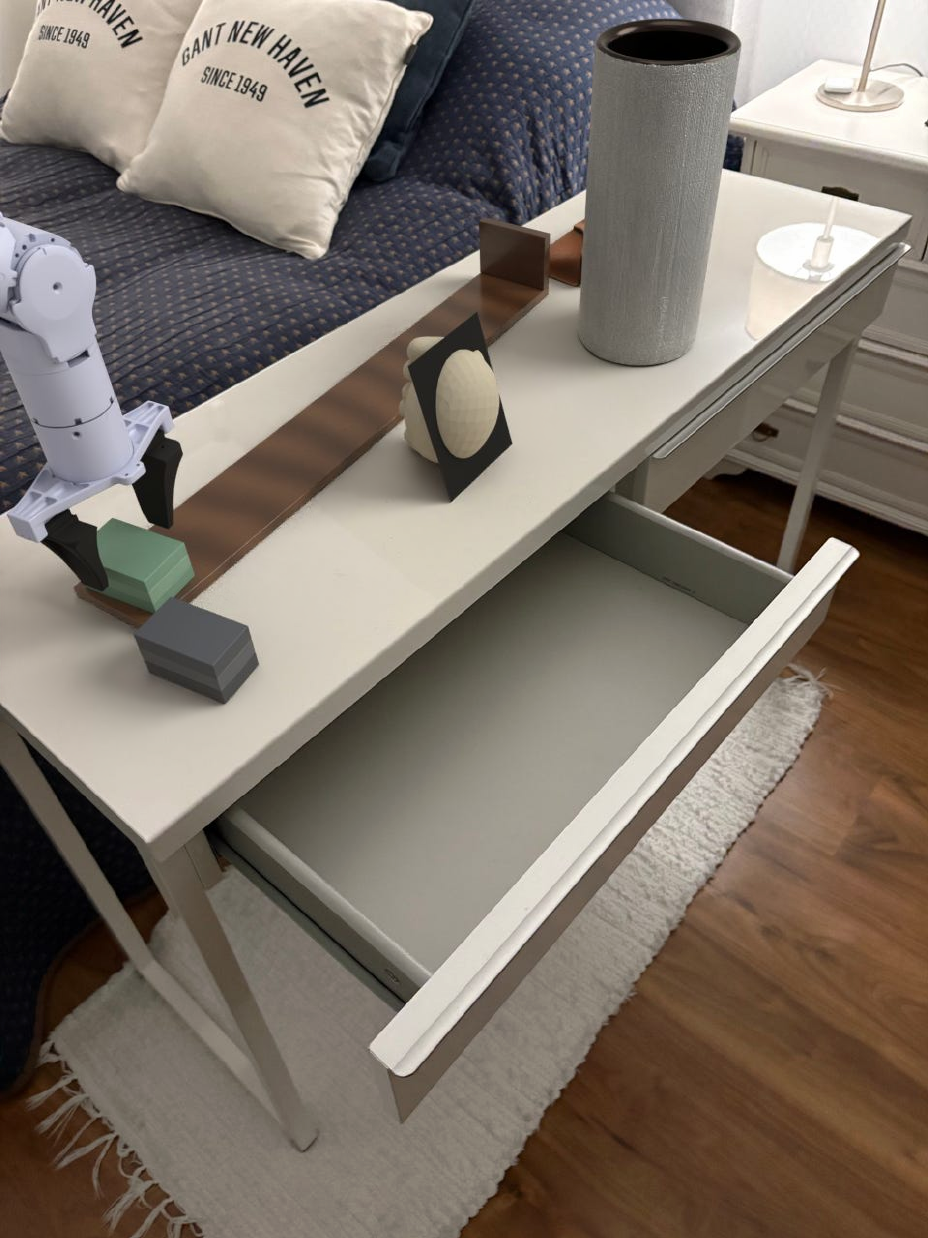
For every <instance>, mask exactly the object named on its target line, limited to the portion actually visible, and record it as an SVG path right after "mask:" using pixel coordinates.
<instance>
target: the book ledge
mask: <svg viewBox="0 0 928 1238" xmlns="http://www.w3.org/2000/svg"><path fill="white" fill-rule="evenodd" d="M478 234H479V235H478V237H479V238H478V239H479V240H478V241H479V273H478V274H476V276H474V277H473V278H472V279H470V280H469V281H467V282H466V283H465V284H464V285H462V286H461V287H460V288H458V289H457V290H456V291H454V293H452V294H451V295H450V296H449V297H447V298H446V299H445V300H443V301H442V302H440V303H439V304H438V305H437V306H435V307H434V308H432V310H431V311H429V312H428V313H426V314H425V315H424V316H422V317H421V318H419V319H418V320H417V321H415V322H414V323H413V324H412V325H411V326H409V327H408V328H407V329H406V330H404V331H403V332H402V333H400V334H399V335H398V336H396V337H395V338H394V339H393V340H391V341H389V343H388V344H386V345H384V347H382V348H381V349H379V350H378V351H377V352H375V353H374V354H373V355H372V356H371V357H369V358H368V359H367V360H365V361H364V362H363V363H361V364H360V365H359V366H358V367H356V368H355V369H354V370H352V371H351V372H350V373H349V374H348V375H346V376H345V377H343V378H342V379H341V380H340V381H338V382H337V383H336V384H334V385H333V386H332V387H330V388H329V389H328V390H327V391H325V392H324V393H323V394H321V395H320V396H318V397H317V398H316V399H315V400H313V401H312V402H311V403H310V404H308V405H307V406H306V407H304V408H303V409H302V410H301V411H300V412H298V413H297V414H295V415H294V416H293V417H292V418H290V419H289V420H288V421H286V422H285V423H284V424H283V425H281V426H280V427H279V428H277V429H276V430H275V431H274V432H272V433H271V434H269V435H268V436H267V437H265V439H263V440H262V441H261V442H259V443H258V444H257V445H255V446H254V447H252V448H251V449H250V450H249V451H248V452H246V453H245V454H244V455H242V456H241V457H240V458H238V459H237V460H236V461H235V462H233V463H232V464H231V465H230V466H228V467H226V469H224V470H223V471H222V472H220V473H219V474H218V475H216V476H214V478H212V479H211V480H210V481H209V482H208V483H206V484H205V485H204V486H202V487H201V488H200V489H198V490H197V491H196V492H195V493H193V494H192V495H191V496H189V497H188V498H187V499H185V500H184V501H182V503H180V504H179V505H178V506H176V507H175V508H173V526H172V527H171V528H170V529H169V530H168V529H165V528H163V527H160V526H157V525H154V524H152V525H151V527H149V528H147V530H149V531H152V532H155V533H158V534H161V535H163V536H166V537H169V538H172V539H175V540H178V541H180V542H183V543H184V544H185V547H186V550H187V554H188V556H189V559H190V562H191V565H192V568H193V571H194V574H195V576H194V577H193V578H192V579H191V580H190V581H189V582H188V583H187V584H186V585H185V586H184V587H183V588H182V589H181V590H180V591H179V593H178V594H177V595H176V596H175V597H174V598H176V599H178V600H181V601H184V602H186V603H189V604H191V603H192V601H194V600H195V599H197V597H198V596H199V595H201V594H202V593H203V592H204V591H205V590H206V589H208V588H209V587H210V586H211V585H212V584H213V583H214V582H216V581H217V580H218V579H219V578H220V577H222V575H224V574H225V573H226V572H228V571H229V570H230V569H231V568H232V567H233V566H235V565H236V564H237V563H238V562H240V560H242V558H244V557H245V556H246V555H248V554H249V552H251V551H252V550H253V549H254V548H255V547H257V546H258V545H259V544H260V543H261V542H263V540H265V539H266V538H267V537H268V536H270V534H271V533H273V532H275V530H277V528H279V527H280V526H281V525H283V523H285V521H287V520H288V519H289V518H291V516H293V515H295V513H296V512H297V511H298V510H299V509H300V508H302V507H304V505H306V503H308V502H309V501H310V500H311V499H313V498H314V497H315V496H317V494H318V493H319V492H321V491H322V490H323V489H324V488H326V487H327V485H329V484H330V483H331V482H332V481H333V480H335V479H336V478H337V477H338V476H339V475H340V474H341V473H343V472H344V470H347V468H348V467H350V466H351V465H352V464H353V463H355V462H356V461H357V460H358V459H359V458H360V457H362V455H364V454H365V453H366V452H367V451H368V450H369V449H370V448H372V447H373V446H374V445H375V444H376V443H378V441H380V440H381V439H382V438H383V437H385V436H386V435H387V434H388V433H389V432H390V431H391V430H392V429H395V427H396V426H397V425H398V424H400V423H401V422H402V421H403V420H405V418H404V417H402V416H401V414H400V412H399V405H400V402H401V401H402V399H403V396H402V389H403V387H404V386H405V385H406V384H407V383H409V382H410V381H408V380H407V379H406V378H405V377H404V374H403V368H404V365H405V363H406V362H407V361H408V360H409V358H408V356H407V348H408V345H409V343H410V342H411V341H412V340H413V339H415V338H418V337H445V336H447V335H448V334H449V333H450V332H452V331H453V330H454V329H456V328H457V327H458V326H459V325H461V324H462V323H463V322H464V321H466V320H467V319H468V318H470V317H471V316H472V315H473V314H475V313H476V312H477V313H478V316H479V320H480V324H481V328H482V331H483V335H484V339H485V343H486V346H487V348H489V346H490V345H491V344H493V343H494V342H495V341H497V339H499V338H500V337H501V336H502V335H504V333H506V332H507V331H508V330H509V329H510V328H511V327H513V326H514V325H515V324H516V323H517V322H518V321H520V320H521V319H522V318H523V317H524V316H526V314H528V313H529V312H531V310H532V309H533V308H535V307H536V306H537V305H539V304H540V303H541V301H543V300H544V299H545V298H546V297H548V296H549V294H550V277H549V266H550V244H551V233H549V232H546V231H542V230H537V229H533V228H529V227H525V226H522V225H517V224H514V223H510V222H506V221H502V220H498V219H493V218H490V217H486V216H485V217H482V218H481V219H480V220H478ZM73 590H74V592H75V594H76V596H77V597H79V598H81V599H82V600H84V601H86V602H88V603H89V604H92V605H93V606H95V607H97V608H99V609H101V610H103V611H104V612H106V613H108V614H110V615H112V616H113V617H115V618H117V619H118V620H121V621H122V622H124V623H126V624H128V625H130V626H132V627H134V628H135V629H137V630H138V629H139V628H140V627H141V626H142V625H143V624H144V623H145V622H146V621H147V620H148V619H149V618H150V617H151V616H152V615H153V613H151V612H148V611H146V610H143V609H140V608H138V607H135V606H133V605H130V604H128V603H125V602H122V601H120V600H117V599H115V598H112V597H109V596H107V595H104V594H102V593H99V592H97V591H94V590H91V589H89V588H86V587H85V585H83V584H82V582H81V581H79V582H78V583H77V584H75V585H74V586H73Z"/></svg>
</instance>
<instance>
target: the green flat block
mask: <svg viewBox="0 0 928 1238" xmlns="http://www.w3.org/2000/svg"><path fill="white" fill-rule="evenodd" d="M194 576H195V574H194V571H193V568H192V565H191V562H190V559H189V556H188V554H187V555H186V556H185V557H184V558H183V559H182V560H181V561H180V562H179V563H178V564H177V565H176V566H175V567H174V568H173V569H172V570H171V571H170V572H169V573H168V574H167V575H166V576H165V577H164V578H163V579H162V580H161V581H160V582H159V583H158V584H157V585H155V586H154V587H153V588H152V589H151V590H150V591H149V592H148V593H147V592H144V591H142V590H139V589H136V588H134V587H131V586H129V585H126V584H123V583H121V582H118V581H115V580H113V579H110V578H108V583H109V586H108V587H107V588H106V589H105V590H104V591H99V590H96V589H94V588H91V587H88V586H86V585H85V587H86V588H89V589H91V590H94V591H97V592H99V593H102V594H104V595H107V596H109V597H112V598H115V599H117V600H120V601H122V602H125V603H128V604H130V605H133V606H135V607H138V608H140V609H143V610H146V611H148V612H151V613H153V614H154V613H155V612H156V611H157V610H158V609H159V608H160V607H161V606H162V605H163V604H164V603H165V602H166V601H167V600H168V599H169V598H170V597H173V598H174V597H175V596H176V595H177V594H178V593H179V591H180V590H181V589H182V588H183V587H184V586H185V585H186V584H187V583H188V582H189V581H190V580H191V579H192V578H193V577H194Z"/></svg>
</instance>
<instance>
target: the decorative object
mask: <svg viewBox="0 0 928 1238" xmlns="http://www.w3.org/2000/svg"><path fill="white" fill-rule="evenodd" d="M407 356H408V358H409V360H408V361H407V362H406V363H405V365H404V368H403V374H404V377H405V378H406V379H407V380H408V381H410V382H409V383H407V384H406V385H405V386H404V387H403V389H402V396H403V399H402V401H401V402H400V405H399V412H400V414H401V416H402V417H404V422H405V423H404V424H405V429H404V433H403V434H404V435H403V437H404V439H405V442H406V443H407V444H408V446H410V447H411V448H412V449H413V450H414V451H415V452H417V453H419V454H420V455H421V456H422V457H423V458H425V459H427V460H429V461H431V462H433V463H435V464H438V466H439V469H440V472H441V476H442V479H443V482H444V485H445V488H446V491H447V494H448V498H449V500H450V503H452V502H453V501H454V500H456V498H458V497H459V496H460V495H461V494H462V493H463V492H464V491H465V490H466V489H467V488H468V487H469V486H470V485H471V484H472V483H473V482H474V481H476V479H477V478H478V477H480V476H481V474H483V473H484V472H485V471H486V470H487V469H488V468H489V467H490V466H491V465H492V464H493V463H494V462H495V461H496V460H497V459H498V458H499V457H500V456H501V455H503V454H504V452H505V451H507V449H509V448H510V447H511V446H512V445H513V440H512V436H511V432H510V429H509V424H508V422H507V417H506V415H505V410H504V407H503V406H504V405H503V403H502V400H501V399H502V398H501V395H500V391H499V385H498V381H497V379H496V375H495V372H494V368H493V366H492V362H491V359H490V355H489V351H488V347H487V346H486V343H485V339H484V335H483V331H482V328H481V324H480V320H479V316H478V313H477V312H476V313H475V314H473V315H472V316H471V317H470V318H468V319H467V320H466V321H464V322H463V323H462V324H461V325H459V326H458V327H457V328H456V329H454V330H453V331H452V332H450V333H449V334H448V335H447V336H445V337H418V338H415V339H413V340H412V341H411V342H410V343H409V345H408V348H407Z"/></svg>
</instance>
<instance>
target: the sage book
mask: <svg viewBox="0 0 928 1238" xmlns="http://www.w3.org/2000/svg"><path fill="white" fill-rule="evenodd" d="M97 546H98V552H99V556H100V559H101V562H102V564H103V567H104V569H105V572H106V574H107V577H108V578H110V579H113V580H115V581H118V582H121V583H123V584H126V585H129V586H131V587H134V588H136V589H139V590H142V591H144V592H147V593H148V592H149V591H150V590H151V589H152V588H153V587H154V586H155V585H157V584H158V583H159V582H160V581H161V580H162V579H163V578H164V577H165V576H166V575H167V574H168V573H169V572H170V571H171V570H172V569H173V568H174V567H175V566H176V565H177V564H178V563H179V562H180V561H181V560H182V559H183V558H184V557H185V556H186V555H187V550H186V547H185V544H184V543H183V542H180V541H178V540H175V539H172V538H169V537H166V536H163V535H161V534H158V533H155V532H152V531H149V530H148V529H146V528H143V527H141V526H138V525H135V524H132V523H129V522H127V521H123V520H121V519H118V518H115V517H111V518H110V519H109V520H108V521H107V522H105V523H104V524H103V525H102V526H101V527H100V528H99V529H97Z"/></svg>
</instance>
